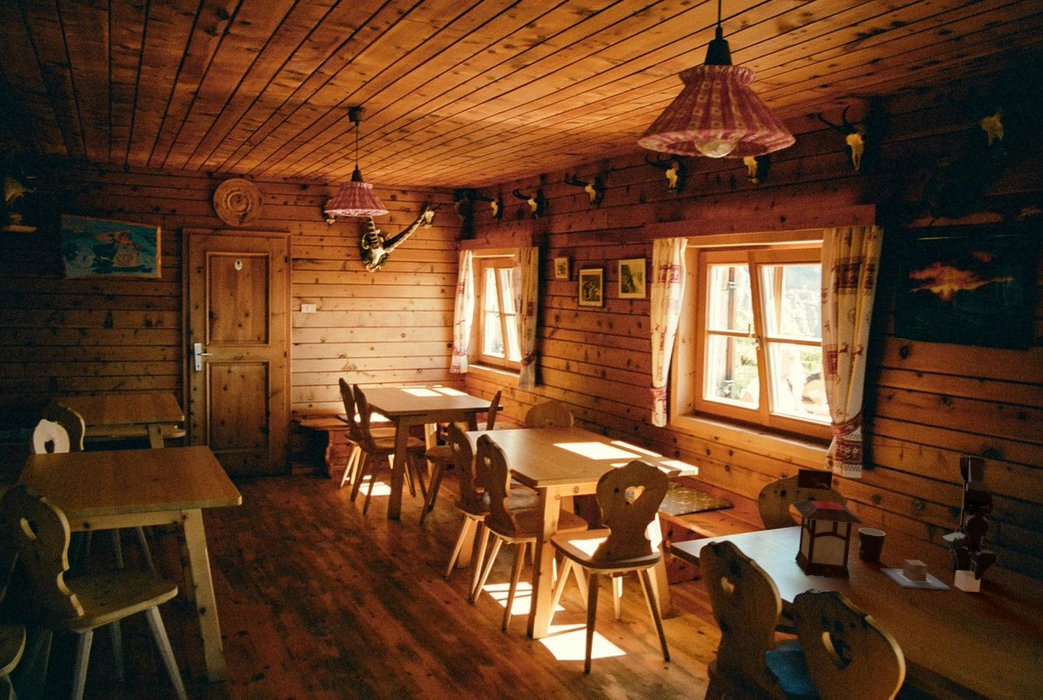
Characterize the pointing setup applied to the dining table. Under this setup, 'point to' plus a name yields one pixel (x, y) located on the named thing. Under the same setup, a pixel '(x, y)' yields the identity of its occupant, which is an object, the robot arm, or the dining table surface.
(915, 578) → the walnut block
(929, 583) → the board
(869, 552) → the coffee mug
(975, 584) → the cream block
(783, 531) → the dining table surface
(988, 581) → the dining table surface
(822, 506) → the lantern
